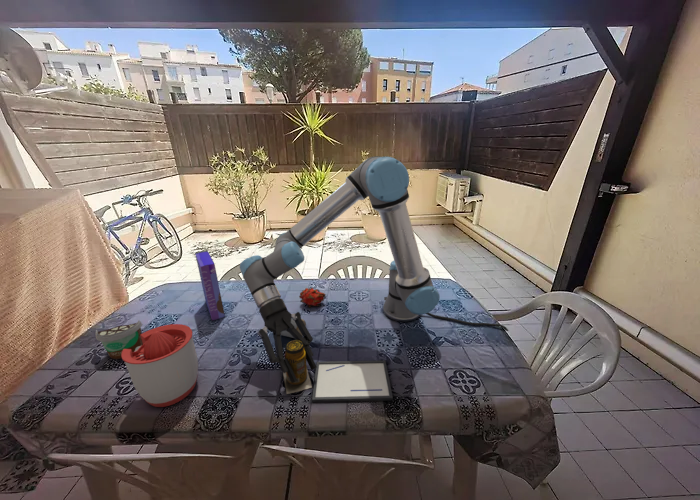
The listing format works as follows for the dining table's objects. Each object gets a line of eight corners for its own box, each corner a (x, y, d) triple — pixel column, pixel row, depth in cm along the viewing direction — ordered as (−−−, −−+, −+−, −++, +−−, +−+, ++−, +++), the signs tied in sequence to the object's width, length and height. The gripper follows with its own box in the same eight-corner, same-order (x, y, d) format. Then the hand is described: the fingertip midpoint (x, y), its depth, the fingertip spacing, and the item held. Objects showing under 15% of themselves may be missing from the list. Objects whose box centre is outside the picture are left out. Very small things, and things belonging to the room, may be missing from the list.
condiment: (306, 366, 85) (304, 335, 81) (312, 387, 78) (310, 354, 74) (282, 373, 83) (279, 341, 79) (286, 395, 76) (282, 361, 71)
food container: (98, 366, 86) (87, 341, 82) (104, 354, 91) (94, 329, 87) (145, 354, 91) (137, 329, 88) (148, 343, 96) (140, 319, 93)
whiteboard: (385, 362, 87) (385, 360, 87) (392, 400, 74) (392, 397, 74) (316, 364, 87) (316, 361, 86) (312, 402, 73) (311, 399, 73)
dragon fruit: (298, 306, 121) (324, 309, 122) (296, 305, 113) (325, 308, 114) (300, 287, 124) (327, 290, 125) (299, 285, 115) (327, 288, 116)
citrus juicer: (159, 368, 85) (142, 314, 78) (214, 369, 84) (201, 315, 77) (118, 414, 70) (92, 352, 63) (183, 416, 70) (164, 353, 63)
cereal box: (224, 317, 111) (214, 263, 103) (212, 320, 109) (200, 266, 100) (217, 298, 125) (207, 250, 116) (205, 302, 122) (194, 252, 114)
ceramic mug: (298, 343, 96) (296, 325, 93) (277, 339, 98) (276, 321, 95) (311, 326, 105) (310, 309, 102) (292, 322, 107) (291, 305, 105)
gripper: (292, 296, 91) (325, 360, 86) (237, 319, 79) (270, 396, 74) (300, 288, 86) (335, 355, 80) (242, 311, 73) (278, 393, 68)
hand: (304, 375), depth 77 cm, fingers closed on condiment, 6 cm apart
